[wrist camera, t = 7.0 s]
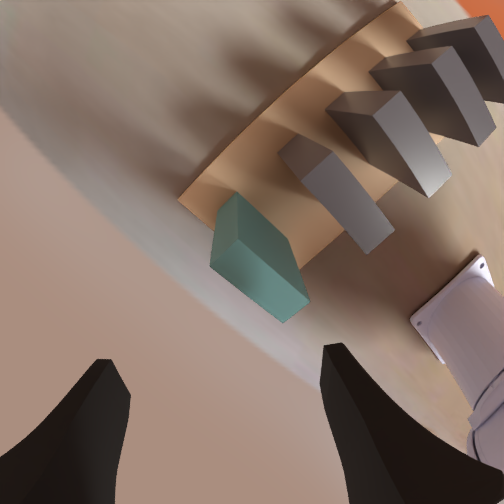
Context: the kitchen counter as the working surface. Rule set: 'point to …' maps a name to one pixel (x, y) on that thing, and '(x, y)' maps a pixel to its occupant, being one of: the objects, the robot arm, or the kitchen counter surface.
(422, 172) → the domino
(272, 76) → the kitchen counter surface
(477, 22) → the domino
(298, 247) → the cork strip
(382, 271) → the kitchen counter surface
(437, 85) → the domino
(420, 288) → the kitchen counter surface
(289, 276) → the domino
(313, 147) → the domino
